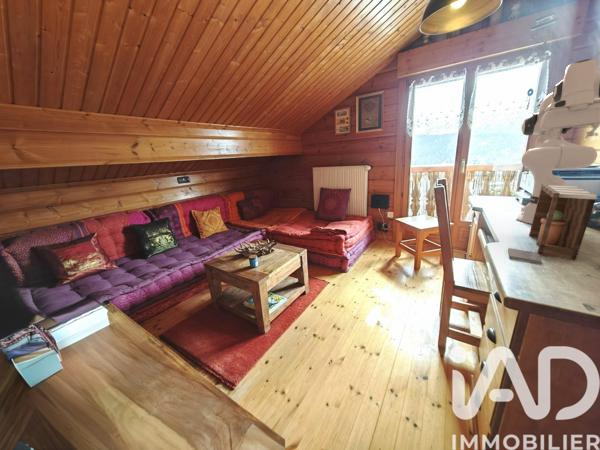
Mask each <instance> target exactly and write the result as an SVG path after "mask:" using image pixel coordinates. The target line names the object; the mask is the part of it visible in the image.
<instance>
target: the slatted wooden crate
mask: <svg viewBox="0 0 600 450" xmlns="http://www.w3.org/2000/svg"><path fill="white" fill-rule="evenodd" d="M597 197H598V196H597V195H596V194H594V193H592V192H589V191H588V190H585V189H582V188H580V187H578V186H576V185H565V186H558V185H546V184H542V185H541V191H540V195H539V199H538V203H537V206H536V210H535V214H534V218H533V222H532V224H531V226H530V231H529V233H528V236H529V237H533V238H538V236H539V232H540V228H541V225H542V223H541V219H542V218H547V220H546V224H545V227H544V231H543V234H542V238H541V242H540V245H539V246H538V250H537V253H538V254H539V256H546V257H552V258H559V259H564V260H571V261H577V257H578V254H579V251H580V248H581V245H582V242H583V239H584V236H585V234H586V230H587V227H588V224H589V222H590V218H591V215H592V212H593V209H594V206H595V202H596V201H597ZM555 210H558V211H560V212H562V213H563V218H562V220H565V221H567V223H566V225H564V226H563V229H562V233H561V236H560V239H559V243H558V246H553V245H546V244H545V243H546V240H547V236H548V233H549V229H550V226H551V222H552V219H553V215H554V212H555ZM547 214H548V216H547Z"/></svg>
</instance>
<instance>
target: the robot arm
mask: <svg viewBox="0 0 600 450" xmlns="http://www.w3.org/2000/svg"><path fill="white" fill-rule="evenodd" d="M597 69H598V68H597V61H596V59H595V58H586V59H581V60H579V61H575V62H573V63H570V64H569V65H568V66H567V67H566V69H565V72H564V77H563V78H562V80H561V81H560V82H558V83H557V84H556V85H555V86H553V91H552V92H551V93H549V94H548V95H546V97H545V98H544V99H542V101H541V103H540V104H539V109H538V112H536V113H535V112H533V113H532V114H531V115H530V116H528V117H526V119H524V120H523V122H522V124H521V131H522V132H521V133H522V134H523V135H524V136H533V135H534V136H535V135H539V136H537V137H536V140H535V143H534V148H529V149H528V150H526V151H525V152H524V153H523V155H522V156H521V164H522V166H523V167H524V168H526V169H527V170H528V171H529V172H530V173H531V175H532V176H533V180H534V182H533V189H532V193H531V195H530V197H529V203H527V204H526V205H524V206H523V207H521V209H520V212H521V213H520V214H519V215H517V217H516V221H519V222H523V223H526V224H530V225H532V222H533V218H534V214H535V210H536V206H537V203H538V199H539V195H540V191H541V185H542V184H546V185H558V186H567V183H566V181H565V180H564V179H563V178H561V177H560V176H557V175H555V174H554V173H553V170H578V169H585V168H588V167H590V166H592V164H594V163H595V162H596V160H597V158H598V151H597V150H596V148H595V147H593V146H588V145H587V146H586V145H581V144H577V143H574V142H571V141H570V142H569V141H566V140H565V138H564V137H563V136H562V135H566V134H567V132H569V131H570V130H572V129H573V128H576V127H577V128H578V127H585V126H590V127H591V128H592V129H591V130H590V131H586V137H587V138H588V137H594V135H595V131H596V130H597V129H598V128H599V127H600V72H597V71H598V70H597ZM597 98H599V99H597Z"/></svg>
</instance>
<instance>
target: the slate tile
mask: <svg viewBox="0 0 600 450" xmlns="http://www.w3.org/2000/svg"><path fill="white" fill-rule="evenodd" d="M507 252H508V258H509V259H512V260H516V261H517V260H518V261H523V262H529V263H533V264H540V265H541V264H542V259H541V257H540V256H541V255H539V254H538V251H537V252H536V251H531V250H524V249H518V248H517V249H516V248H511V247H508V248H507Z"/></svg>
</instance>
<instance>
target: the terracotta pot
mask: <svg viewBox="0 0 600 450" xmlns="http://www.w3.org/2000/svg"><path fill="white" fill-rule="evenodd" d="M547 216H548V214H547ZM562 218H563V213H562V212H560V211H558V210H555V212H554V215H553V219H552V222H551V226H550V229H549V233H548V236H547V240H546V243H545V244H546V245H553V246H559V239H560V236H561V233H562V229H563V226H564V225H566V223H567V221H565V220H562ZM546 220H547V218H542V219H541V223H542V225H541V228H540V232H539V236H538V237H537V239H536V243H535V245H536V246H538V247H539V245H540V242H541V238H542V234H543V231H544V227H545V224H546Z"/></svg>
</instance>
